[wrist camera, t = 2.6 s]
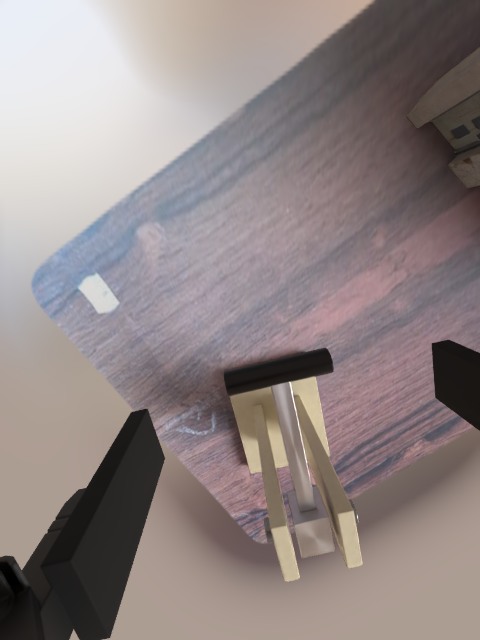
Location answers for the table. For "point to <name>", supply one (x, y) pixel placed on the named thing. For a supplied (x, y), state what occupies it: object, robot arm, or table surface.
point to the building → (456, 115)
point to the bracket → (269, 454)
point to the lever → (292, 438)
